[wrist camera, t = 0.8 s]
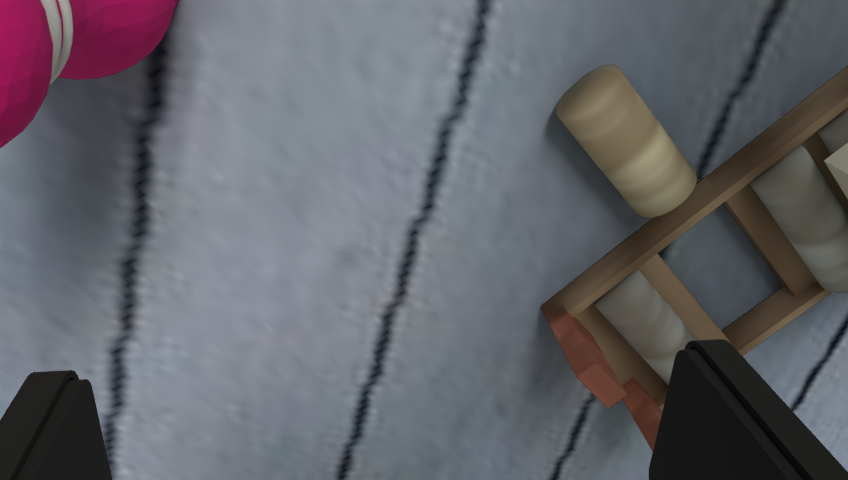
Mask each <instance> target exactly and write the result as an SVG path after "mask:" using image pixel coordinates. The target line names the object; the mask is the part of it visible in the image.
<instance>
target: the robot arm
mask: <svg viewBox="0 0 848 480" xmlns="http://www.w3.org/2000/svg"><path fill="white" fill-rule="evenodd" d="M0 480H112V477H111V472H110V468H109V463H108V459H107V454H106V449H105V445H104V440H103V436H102V431H101V427H100V422H99V418H98V413H97V408H96V404H95V399H94V395H93V390H92V386H91V383H90V382H89V380H87V379H85V380H79V378H78V375H77V374H76V372H74V371H72V370H70V371H49V372H33V373H31V374H30V375H29V376H28V377H27V378H26V380H25V381H24V383H23V385H22V386H21V388H20V389H19V391H18V393H17V394H16V396H15V398H14V399H13V401H12V402H11V404H10V406H9V407H8V409H7V410H6V412H5V414H4V415H3V417H2V419H1V420H0ZM649 480H848V472H847V471H846V470H845V469H844V468H843V466H842V465H841V464H840V463H839V462H838V461H837V460H836V459H835V458H834V457H833V455H832V454H831V453H830V452H829V451H828V450H827V449H826V448H825V447H824V446H823V444H822V443H821V442H820V441H819V440H818V439H817V438H816V437H815V436H814V435H813V434H812V432H811V431H810V430H809V429H808V428H807V427H806V426H805V425H804V424H803V423H802V421H801V420H800V419H799V418H798V417H797V416H796V415H795V414H794V413H793V412H792V410H791V409H790V408H789V407H788V406H787V405H786V404H785V403H784V402H783V401H782V399H781V398H780V397H779V396H778V395H777V394H776V393H775V392H774V391H773V390H772V389H771V387H770V386H769V385H768V384H767V383H766V382H765V381H764V380H763V379H762V378H761V376H760V375H759V374H758V373H757V372H756V371H755V370H754V369H753V368H752V367H751V365H750V364H749V363H748V362H747V361H746V360H745V359H744V358H743V357H742V356H741V354H740V353H739V352H738V351H737V350H736V349H735V348H734V347H733V346H732V345H731V344H730V343H729V342H728V341H727V340H724V339H713V340H692V341H690V342H688V343H687V344H686V346H685V348H684V350H679V351H678V352H677V353H676V356H675V360H674V364H673V368H672V372H671V377H670V381H669V385H668V390H667V394H666V398H665V403H664V407H663V411H662V416H661V420H660V424H659V428H658V433H657V437H656V441H655V446H654V450H653V454H652V459H651V463H650V467H649Z"/></svg>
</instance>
